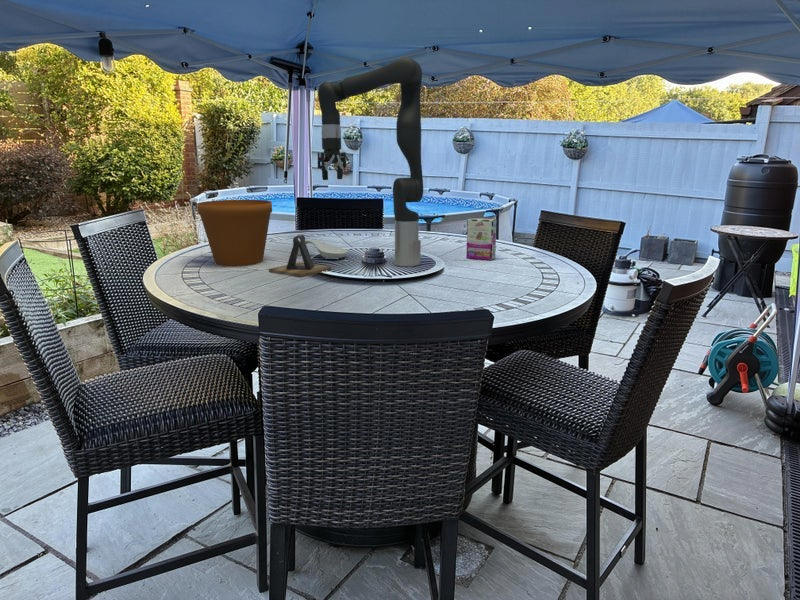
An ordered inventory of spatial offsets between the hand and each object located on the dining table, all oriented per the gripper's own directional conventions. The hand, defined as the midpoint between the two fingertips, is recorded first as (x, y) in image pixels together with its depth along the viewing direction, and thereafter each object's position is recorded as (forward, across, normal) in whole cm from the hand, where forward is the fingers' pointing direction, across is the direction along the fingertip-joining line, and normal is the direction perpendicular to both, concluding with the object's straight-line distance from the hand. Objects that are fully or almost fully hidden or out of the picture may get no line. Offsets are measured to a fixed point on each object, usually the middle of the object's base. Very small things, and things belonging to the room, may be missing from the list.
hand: (332, 179), depth 227 cm
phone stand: (+31, +25, +5) cm, 40 cm away
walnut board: (+32, +25, +5) cm, 41 cm away
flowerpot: (+32, +26, -28) cm, 50 cm away
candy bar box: (+32, -36, +48) cm, 68 cm away
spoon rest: (+32, -1, -8) cm, 34 cm away
